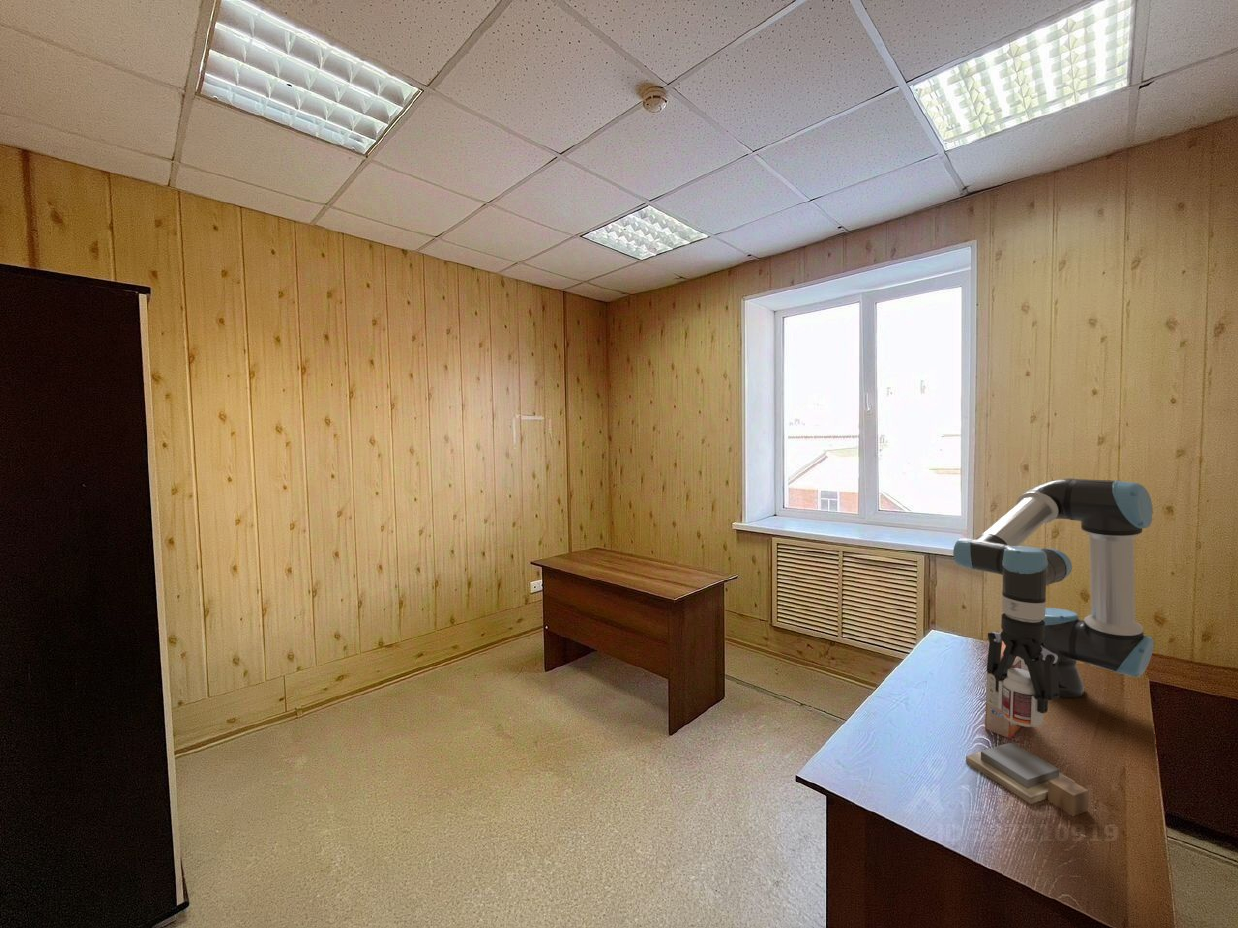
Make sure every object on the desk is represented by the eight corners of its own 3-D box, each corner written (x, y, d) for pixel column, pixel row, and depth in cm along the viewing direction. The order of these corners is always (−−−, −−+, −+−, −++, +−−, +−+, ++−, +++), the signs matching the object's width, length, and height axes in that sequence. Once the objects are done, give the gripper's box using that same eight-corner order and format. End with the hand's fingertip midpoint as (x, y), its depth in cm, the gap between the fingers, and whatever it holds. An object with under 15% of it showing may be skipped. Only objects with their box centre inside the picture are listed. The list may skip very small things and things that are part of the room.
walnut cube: (1063, 775, 105) (1088, 790, 100) (1062, 795, 105) (1087, 810, 101) (1048, 780, 103) (1073, 795, 99) (1047, 800, 104) (1072, 816, 99)
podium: (1007, 749, 120) (1008, 735, 120) (1075, 788, 107) (1076, 772, 107) (965, 761, 116) (966, 747, 116) (1030, 804, 103) (1031, 788, 103)
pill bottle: (1043, 723, 109) (1045, 675, 108) (1028, 730, 107) (1029, 682, 106) (1011, 709, 115) (1013, 663, 114) (996, 716, 112) (997, 669, 111)
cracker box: (1012, 740, 123) (1014, 660, 122) (983, 729, 128) (985, 652, 127) (1029, 720, 132) (1031, 645, 130) (1002, 710, 136) (1004, 637, 135)
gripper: (968, 604, 117) (966, 697, 119) (1061, 635, 99) (1057, 744, 100) (991, 600, 119) (988, 691, 121) (1086, 630, 101) (1081, 737, 103)
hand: (1019, 715), depth 111 cm, fingers closed on pill bottle, 6 cm apart
